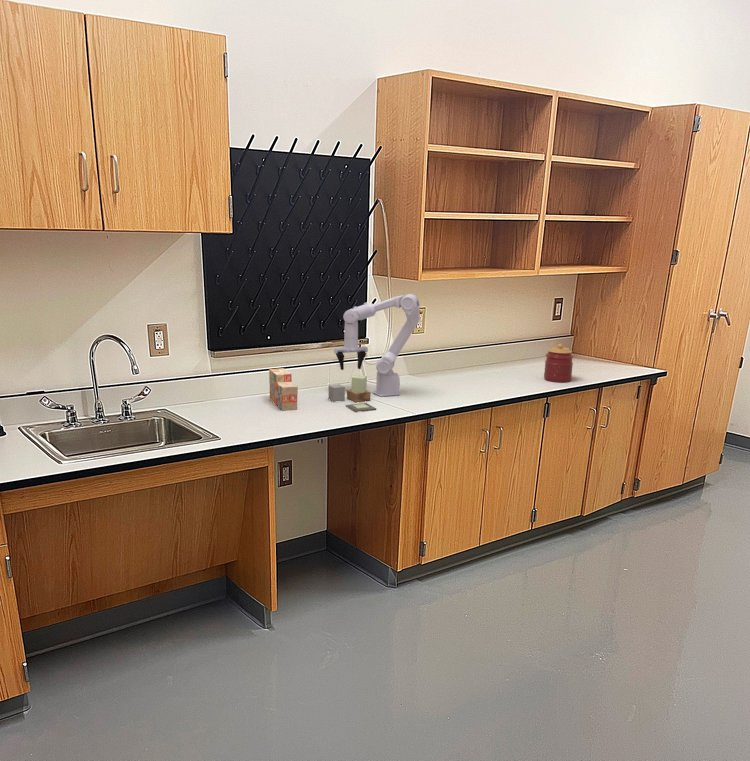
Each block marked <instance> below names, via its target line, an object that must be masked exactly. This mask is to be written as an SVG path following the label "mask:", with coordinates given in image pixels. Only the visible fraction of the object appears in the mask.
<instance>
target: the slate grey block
mask: <svg viewBox="0 0 750 761" xmlns="http://www.w3.org/2000/svg"><path fill="white" fill-rule="evenodd" d="M345 388H346V387H345V386H344V385H342V384H340V383H338V384H329V385H328V400H329V399H330V400H331V402H332V401H333V402H332V403H336V402H335V401H341V402H345V400H346V399H345V394H346V389H345ZM330 400H329V401H330Z"/></svg>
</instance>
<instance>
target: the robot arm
mask: <svg viewBox="0 0 750 761" xmlns="http://www.w3.org/2000/svg"><path fill="white" fill-rule="evenodd" d="M420 305H421V304H420V301H419V299H418V296H417V295H416V294H415V293H407V294H402V295H397V296H393V297H391V298H389V299H388V298H387V299H386V300H383V301H380V302H378V303H375V304H374V303H372V302H364V303H363V304H362V305H359V306H353V308H350V309H348V310H345V312H344V313H343V320H344V331H343V332H344V340H343V342H344V344H343V346H342V347H334V348H333V353H334V354H335V355H336V357H337V359H338V364H339V368H340V370H341V371H344V368H345V367H344V362H345V354H346V353H347V354H348V353H356V354H357V369H358V370H361V368H362V365H363V362H364V360H365V357H366V356H367V353H368V351H369V348H368V347H367V346H359V343H358V342H359V321H362V320H366V319H369V318H371V317H374V316H375V315H376V313H377V312H379V311H384V310H386V309H390V308H393V307H394V308H397V309H400V308H401V310H402V311H403V312H404V313H405V316H406V321H405V323H404V325H403V326H402V327H401V329H400V331H399V332H398V334H397V336H396V337H395V338H394V340H393V342H392V344H391V345H390V347H389V349H388V350H387V351H386V353H385V354H384V356H383V357H382V358H380V360H378V361H377V362H376V366H375V367H376V388H375V389H376V390H373V391H372V393H373V394H374V395H377V396H379V397H389V396H398V395H401V393H400V382H401V379H400V376H399V374H398V373H397V372H395V371H394V370H393V368H394V366H395V362H396V359H397V358H398V356H399V354H400V352H401V351H402V350H403V348H404V346H405V345H406V344H407V342H408V340H409V338H410V337H411V335H412V333H413V332H414V331H415V329H416V327H417V326H418V324H419V322H420V320H421V319H420V317H421V315H420ZM344 353H345V354H344Z"/></svg>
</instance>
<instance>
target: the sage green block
mask: <svg viewBox="0 0 750 761" xmlns="http://www.w3.org/2000/svg"><path fill="white" fill-rule="evenodd" d="M367 377H368V376H367V375H359V374H358V375H357V374H355V375H353V376H352V377H351V388H350V390H351V392H356V393H364V392H365V391H366V390H367V387H368V386H367V385H368V384H367V383H368V381H367V380H368V378H367Z"/></svg>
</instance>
